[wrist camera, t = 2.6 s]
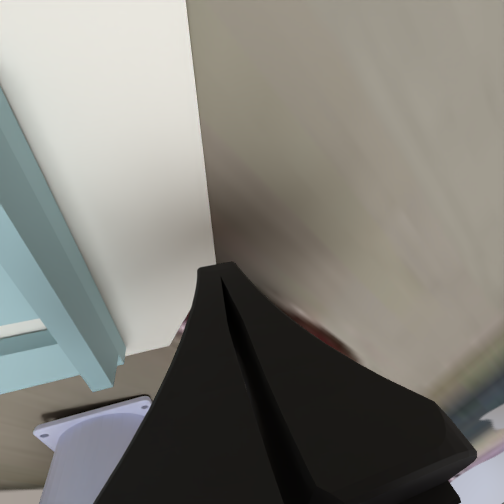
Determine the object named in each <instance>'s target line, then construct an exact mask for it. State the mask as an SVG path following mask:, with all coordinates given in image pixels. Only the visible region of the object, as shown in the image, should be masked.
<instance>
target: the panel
mask: <svg viewBox="0 0 504 504" xmlns="http://www.w3.org/2000/svg"><path fill="white" fill-rule="evenodd" d="M39 318H40V320H41V321H42V322H43V324H44V325H45V327H46V328H47V329H48V330H45V331H40V332H35V333H30V334H25V335H20V336H15V337H10V338H5V339H1V340H0V394H4V393H8V392H12V391H16V390H20V389H24V388H28V387H32V386H37V385H41V384H45V383H49V382H53V381H57V380H61V379H65V378H69V377H73V376H77V375H81V376H82V378H83V379H84V381H85V382H86V383H87V385H88V386H89V388H90V389H91V390H92V392H95V391H99V390H103V389H107V388H110V387H113V386H114V380H115V374H116V368H117V366H118V365H122V364H124V360H125V353H126V346H125V344H124V342H123V340H122V338H121V336H120V334H119V332H118V330H117V328H116V326H115V324H114V321H113V319H112V317H111V315H110V313H109V311H108V309H107V307H106V305H105V303H104V301H103V299H102V297H101V294H100V292H99V290H98V288H97V286H96V284H95V282H94V280H93V278H92V276H91V274H90V272H89V270H88V268H87V265H86V263H85V261H84V259H83V257H82V255H81V253H80V251H79V249H78V247H77V245H76V243H75V241H74V238H73V236H72V234H71V232H70V230H69V228H68V226H67V224H66V222H65V220H64V218H63V216H62V214H61V212H60V209H59V207H58V205H57V203H56V201H55V199H54V197H53V195H52V193H51V191H50V189H49V187H48V185H47V182H46V180H45V178H44V176H43V174H42V172H41V170H40V168H39V166H38V164H37V162H36V160H35V158H34V156H33V153H32V151H31V149H30V147H29V145H28V143H27V141H26V139H25V137H24V135H23V133H22V131H21V129H20V127H19V124H18V122H17V120H16V118H15V116H14V114H13V112H12V110H11V108H10V106H9V104H8V102H7V100H6V97H5V95H4V93H3V91H2V89H1V87H0V326H3V325H8V324H13V323H18V322H23V321H28V320H33V319H39Z"/></svg>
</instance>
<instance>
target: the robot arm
mask: <svg viewBox="0 0 504 504" xmlns="http://www.w3.org/2000/svg"><path fill="white" fill-rule="evenodd" d="M245 386H246V387H245ZM33 434H34V435H35V436H36V437H37V438H38V439H40V440H41V441H42V442H43V443H44V444H46V445H47V446H48V447H49V448H50V449H52V450H53V451H54V455H53V459H52V462H51V465H50V469H49V472H48V476H47V479H46V482H45V486H44V489H43V492H42V496H41V499H40V502H39V504H459V503H461V501H460V497H459V496H458V494H457V493H456V491H455V490H454V489H453V487H452V486H451V484H450V483H449V481H448V480H449V479H450V478H452V477H453V476H455V475H456V474H457V473H459V472H460V471H462V470H463V469H464V468H466V467H467V466H469V465H470V464H471V463H472V462H474V461H475V459H476V458H477V451H476V450H475V449H474V447H473V446H472V445H471V444H470V442H469V441H468V440H467V439H466V437H465V436H464V435H463V434H462V433H461V431H460V430H459V429H458V428H457V426H456V425H455V424H454V423H453V421H452V420H451V419H450V418H449V417H448V416H447V415H446V414H445V413H444V412H443V410H442V409H441V408H440V407H439V406H438V405H437V404H436V403H435V402H434V401H432V400H430V399H428V398H426V397H424V396H422V395H419V394H417V393H415V392H413V391H411V390H409V389H407V388H405V387H403V386H401V385H399V384H396V383H394V382H392V381H390V380H388V379H386V378H384V377H382V376H380V375H378V374H377V373H375V372H373V371H371V370H369V369H367V368H366V367H364V366H362V365H360V364H358V363H357V362H355V361H353V360H352V359H350V358H348V357H347V356H345V355H343V354H342V353H340V352H338V351H337V350H335V349H334V348H332V347H330V346H329V345H327V344H325V343H324V342H322V341H321V340H320V339H318V338H317V337H315V336H314V335H312V334H311V333H309V332H308V331H307V330H305V329H304V328H303V327H301V326H300V325H299V324H297V323H296V322H295V321H293V320H292V319H291V318H290V317H288V316H287V315H286V314H285V313H284V312H282V311H281V310H280V309H279V308H278V307H277V306H275V305H274V304H273V303H272V302H271V301H270V300H269V299H268V298H267V297H266V296H265V295H264V294H263V293H262V292H261V291H260V290H259V289H258V288H257V287H256V286H255V285H254V284H253V283H252V282H251V281H250V280H249V279H248V278H247V277H246V276H245V274H244V273H243V272H242V271H241V270H240V268H239V267H238V266H237V265H236V263H234V262H227V263H221V264H216V265H210V266H204V267H200V268H199V269H198V270H197V283H196V289H195V294H194V298H193V302H192V306H191V310H190V314H189V317H188V320H187V323H186V326H185V329H184V332H183V335H182V338H181V341H180V343H179V346H178V348H177V351H176V353H175V356H174V358H173V360H172V363H171V365H170V367H169V369H168V371H167V374H166V376H165V378H164V380H163V382H162V384H161V386H160V388H159V390H158V392H157V394H156V396H155V398H154V400H153V402H152V401H151V399H150V397H148V396H141V397H137V398H134V399H130V400H127V401H123V402H119V403H116V404H112V405H108V406H105V407H101V408H98V409H94V410H90V411H87V412H83V413H79V414H76V415H72V416H69V417H65V418H61V419H58V420H54V421H50V422H47V423H43V424H40V425H37V426H36V427H35V429H34V431H33ZM502 504H504V503H502Z"/></svg>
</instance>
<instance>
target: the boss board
mask: <svg viewBox="0 0 504 504" xmlns="http://www.w3.org/2000/svg"><path fill="white" fill-rule="evenodd" d="M0 87H1V89H2V91H3V93H4V95H5V97H6V100H7V102H8V104H9V106H10V108H11V110H12V112H13V114H14V116H15V118H16V120H17V122H18V124H19V127H20V129H21V131H22V133H23V135H24V137H25V139H26V141H27V143H28V145H29V147H30V149H31V151H32V153H33V156H34V158H35V160H36V162H37V164H38V166H39V168H40V170H41V172H42V174H43V176H44V178H45V180H46V182H47V185H48V187H49V189H50V191H51V193H52V195H53V197H54V199H55V201H56V203H57V205H58V207H59V209H60V212H61V214H62V216H63V218H64V220H65V222H66V224H67V226H68V228H69V230H70V232H71V234H72V236H73V238H74V241H75V243H76V245H77V247H78V249H79V251H80V253H81V255H82V257H83V259H84V261H85V263H86V265H87V268H88V270H89V272H90V274H91V276H92V278H93V280H94V282H95V284H96V286H97V288H98V290H99V292H100V294H101V297H102V299H103V301H104V303H105V305H106V307H107V309H108V311H109V313H110V315H111V317H112V319H113V321H114V324H115V326H116V328H117V330H118V332H119V334H120V336H121V338H122V340H123V342H124V344H125V346H126V353H125V356H128V355H132V354H136V353H141V352H145V351H149V350H153V349H157V348H162V347H166V346H169V345H170V344H171V342H172V340H173V338H174V337H175V335H176V333H177V331H178V330H179V328H180V326H181V324H182V323H183V321H184V319H185V317H186V316H187V314H188V312H189V311H190V309H191V306H192V302H193V298H194V294H195V289H196V283H197V270H198V269H199V268H200V267H204V266H210V265H216V258H215V250H214V241H213V233H212V224H211V216H210V207H209V198H208V190H207V181H206V173H205V164H204V155H203V147H202V138H201V130H200V121H199V113H198V104H197V95H196V87H195V78H194V70H193V61H192V52H191V44H190V35H189V27H188V18H187V9H186V1H185V0H0ZM45 330H48V329H47V328H46V327H45V325H44V324H43V322H42V321H41V320H40V318H39V319H33V320H28V321H23V322H18V323H13V324H8V325H3V326H0V340H1V339H5V338H10V337H15V336H20V335H25V334H30V333H35V332H40V331H45Z"/></svg>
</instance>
